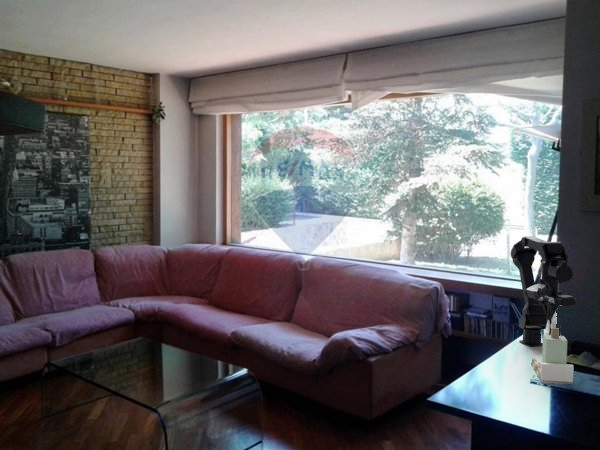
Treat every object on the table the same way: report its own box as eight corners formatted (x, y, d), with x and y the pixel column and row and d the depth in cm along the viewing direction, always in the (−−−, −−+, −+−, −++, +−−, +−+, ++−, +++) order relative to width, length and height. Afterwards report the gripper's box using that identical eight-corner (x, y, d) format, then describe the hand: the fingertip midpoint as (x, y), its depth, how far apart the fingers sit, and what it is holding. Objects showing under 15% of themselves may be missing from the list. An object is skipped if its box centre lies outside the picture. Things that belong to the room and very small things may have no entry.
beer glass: (564, 339, 212) (566, 302, 211) (546, 339, 212) (548, 302, 211) (556, 334, 219) (558, 298, 218) (539, 334, 219) (540, 298, 218)
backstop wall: (540, 378, 168) (541, 362, 168) (571, 380, 166) (572, 364, 166) (541, 379, 167) (542, 364, 167) (573, 382, 165) (573, 366, 165)
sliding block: (541, 371, 174) (543, 325, 172) (561, 372, 172) (563, 326, 171) (545, 376, 169) (546, 329, 168) (565, 378, 168) (567, 331, 166)
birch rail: (531, 364, 184) (531, 357, 183) (559, 366, 182) (559, 359, 181) (541, 382, 167) (541, 375, 167) (572, 385, 165) (573, 377, 165)
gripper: (513, 273, 197) (512, 315, 199) (550, 282, 180) (549, 328, 181) (538, 272, 201) (537, 313, 202) (577, 280, 183) (576, 325, 184)
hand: (548, 319), depth 192 cm, fingers closed
